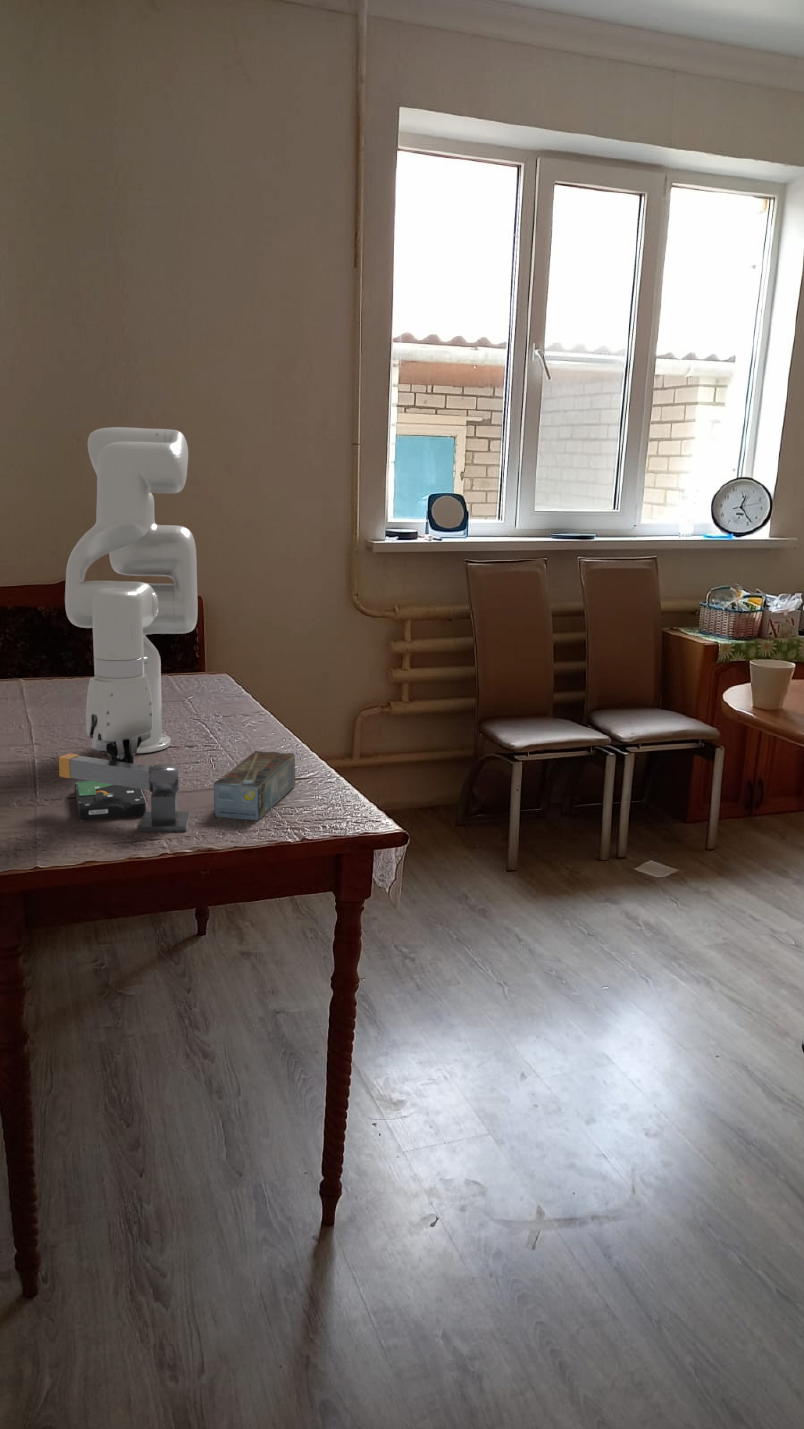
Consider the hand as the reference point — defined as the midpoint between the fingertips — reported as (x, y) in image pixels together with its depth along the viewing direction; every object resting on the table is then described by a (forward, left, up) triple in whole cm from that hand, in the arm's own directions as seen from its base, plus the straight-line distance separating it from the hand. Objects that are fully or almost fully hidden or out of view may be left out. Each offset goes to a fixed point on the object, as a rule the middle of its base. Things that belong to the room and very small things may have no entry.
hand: (123, 779), depth 168 cm
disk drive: (-2, -3, -5) cm, 6 cm away
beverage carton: (-3, +21, -5) cm, 22 cm away
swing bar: (+4, 0, +1) cm, 4 cm away
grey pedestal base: (+8, +7, -5) cm, 12 cm away
